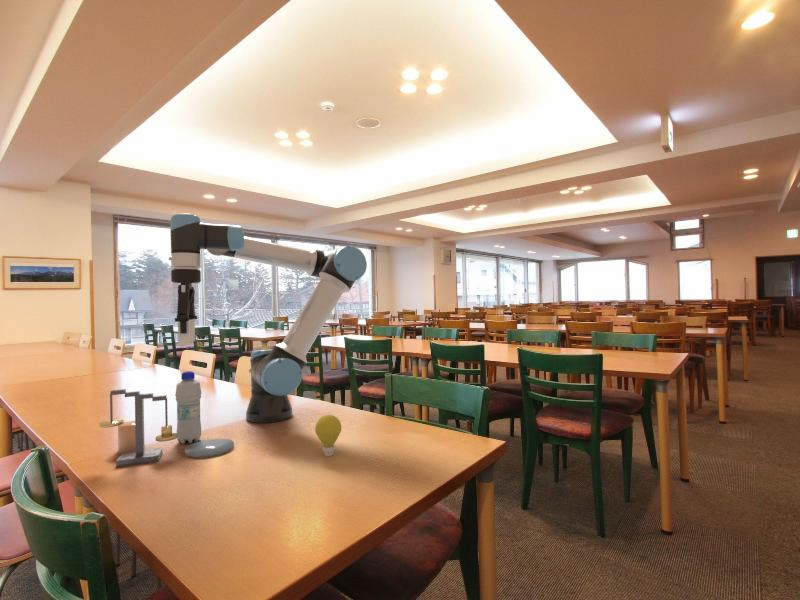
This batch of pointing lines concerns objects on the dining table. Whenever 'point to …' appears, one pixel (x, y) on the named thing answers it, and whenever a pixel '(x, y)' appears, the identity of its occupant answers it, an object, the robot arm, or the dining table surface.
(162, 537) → the dining table surface
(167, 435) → the balance
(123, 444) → the peach rounded capsule
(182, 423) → the bottle
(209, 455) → the dish
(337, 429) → the light bulb
